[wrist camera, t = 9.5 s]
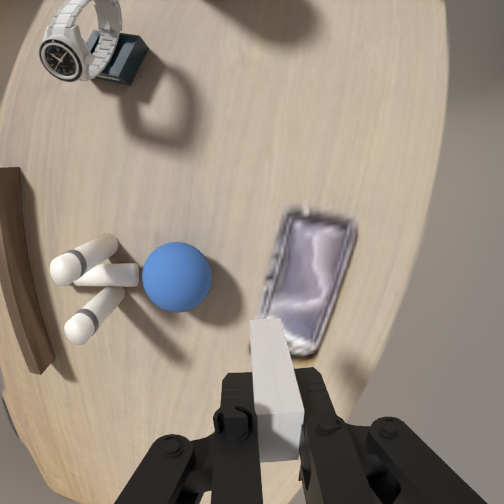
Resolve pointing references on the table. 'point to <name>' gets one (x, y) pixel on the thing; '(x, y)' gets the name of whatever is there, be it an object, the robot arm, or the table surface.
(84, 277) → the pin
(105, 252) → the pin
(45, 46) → the watch
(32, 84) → the table surface
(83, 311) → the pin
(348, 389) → the table surface
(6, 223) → the back wall
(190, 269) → the ball
